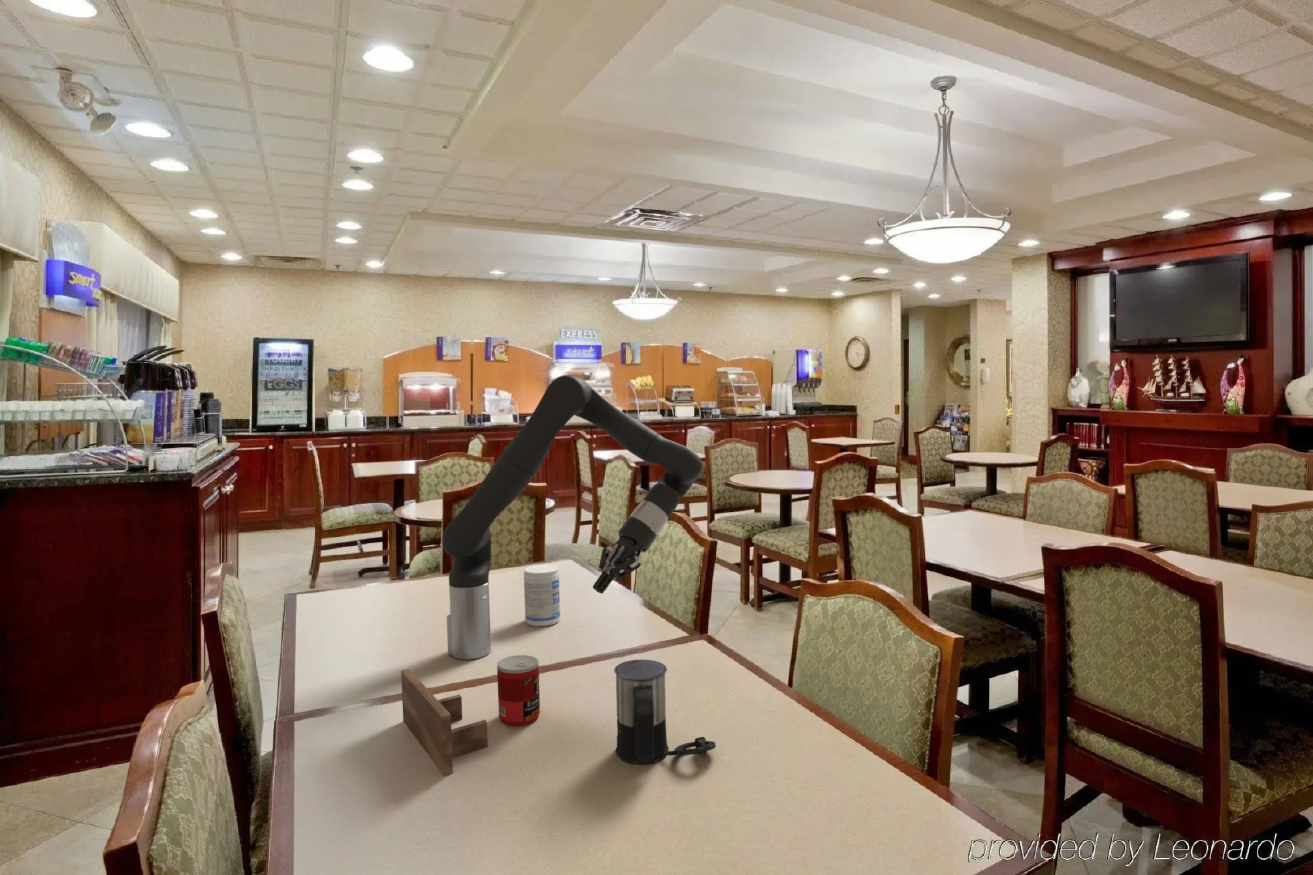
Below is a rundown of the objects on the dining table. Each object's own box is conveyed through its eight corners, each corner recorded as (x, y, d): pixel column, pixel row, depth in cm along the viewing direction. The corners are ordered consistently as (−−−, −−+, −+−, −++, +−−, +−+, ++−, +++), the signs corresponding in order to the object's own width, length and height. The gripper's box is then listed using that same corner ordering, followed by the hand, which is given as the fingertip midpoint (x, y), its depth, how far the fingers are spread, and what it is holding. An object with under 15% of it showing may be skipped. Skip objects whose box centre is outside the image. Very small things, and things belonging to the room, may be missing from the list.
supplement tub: (561, 625, 191) (560, 571, 190) (526, 629, 188) (524, 574, 187) (558, 614, 200) (557, 563, 199) (524, 617, 198) (522, 565, 197)
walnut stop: (451, 708, 142) (450, 659, 141) (498, 758, 122) (496, 701, 122) (403, 721, 136) (401, 670, 136) (443, 775, 117) (441, 716, 116)
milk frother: (608, 744, 126) (606, 663, 125) (688, 726, 133) (687, 649, 132) (637, 785, 113) (636, 694, 112) (724, 763, 119) (723, 677, 118)
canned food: (531, 728, 133) (530, 671, 132) (491, 725, 134) (489, 668, 134) (546, 710, 140) (544, 656, 139) (508, 707, 142) (506, 653, 141)
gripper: (617, 511, 160) (570, 574, 154) (650, 519, 149) (601, 587, 143) (637, 531, 163) (592, 594, 157) (671, 541, 152) (624, 608, 146)
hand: (597, 590), depth 150 cm, fingers closed
